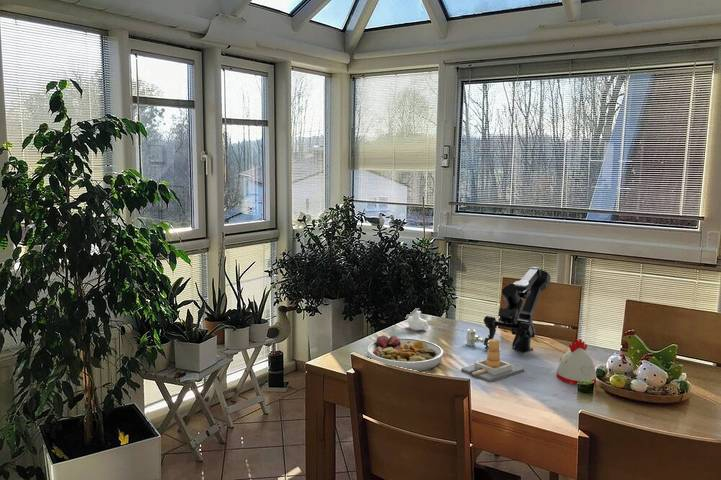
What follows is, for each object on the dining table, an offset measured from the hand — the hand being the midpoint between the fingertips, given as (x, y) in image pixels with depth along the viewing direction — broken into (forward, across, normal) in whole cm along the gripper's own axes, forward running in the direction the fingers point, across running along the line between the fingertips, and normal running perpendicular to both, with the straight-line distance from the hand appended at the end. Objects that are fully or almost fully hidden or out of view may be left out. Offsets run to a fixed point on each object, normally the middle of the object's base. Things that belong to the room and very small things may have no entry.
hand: (501, 344), depth 235 cm
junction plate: (+12, 0, +1) cm, 12 cm away
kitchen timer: (+3, +28, +9) cm, 30 cm away
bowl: (+19, -33, -7) cm, 39 cm away
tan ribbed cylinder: (+11, 0, 0) cm, 11 cm away
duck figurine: (-9, -50, +22) cm, 56 cm away
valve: (-5, -17, +18) cm, 25 cm away
